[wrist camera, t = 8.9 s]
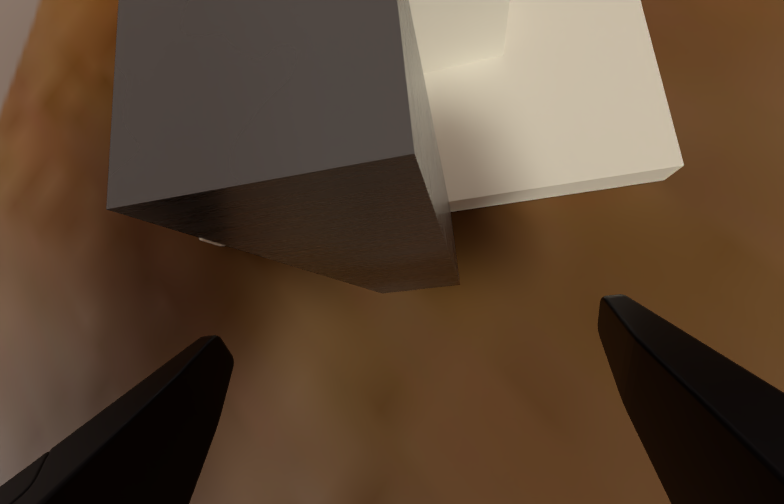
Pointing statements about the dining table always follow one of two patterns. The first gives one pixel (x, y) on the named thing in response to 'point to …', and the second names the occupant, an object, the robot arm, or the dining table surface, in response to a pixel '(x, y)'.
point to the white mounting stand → (542, 98)
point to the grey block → (284, 135)
